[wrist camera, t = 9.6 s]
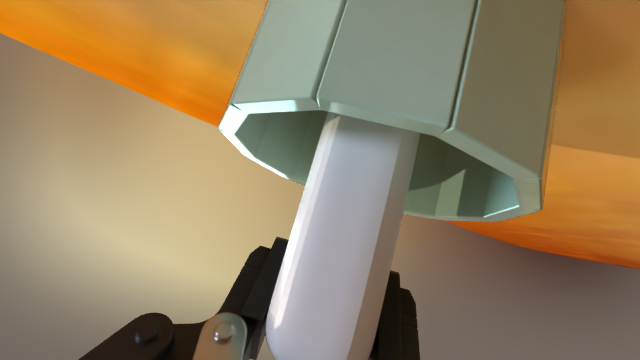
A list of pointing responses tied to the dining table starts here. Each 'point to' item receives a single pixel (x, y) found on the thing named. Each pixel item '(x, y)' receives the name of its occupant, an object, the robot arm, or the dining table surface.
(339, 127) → the eye dropper bottle
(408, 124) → the celadon cup
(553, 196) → the dining table surface
